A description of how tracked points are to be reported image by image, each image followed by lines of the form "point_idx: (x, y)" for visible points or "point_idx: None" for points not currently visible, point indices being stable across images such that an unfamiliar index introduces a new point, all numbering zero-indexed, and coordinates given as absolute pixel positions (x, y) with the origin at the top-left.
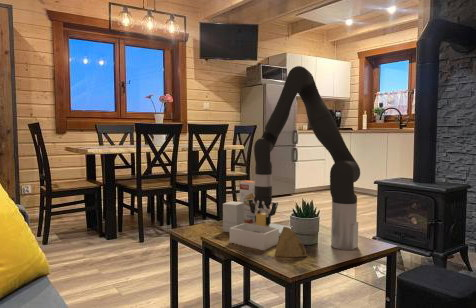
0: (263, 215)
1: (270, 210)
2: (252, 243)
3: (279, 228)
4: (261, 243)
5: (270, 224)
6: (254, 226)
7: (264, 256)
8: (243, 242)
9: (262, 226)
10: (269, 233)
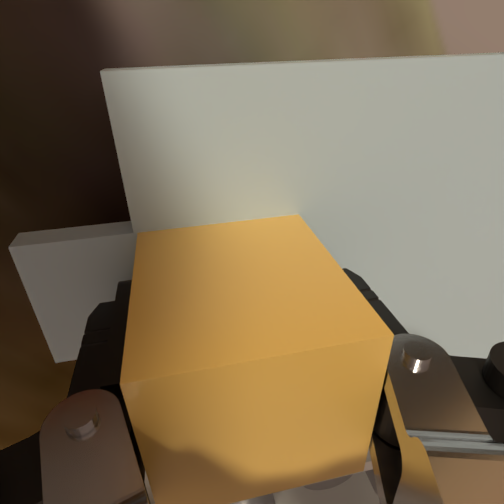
0: (332, 470)
1: (495, 443)
2: (347, 488)
3: (469, 256)
4: None
5: (286, 166)
6: None
7: None
8: (283, 497)
9: (371, 466)
10: None
